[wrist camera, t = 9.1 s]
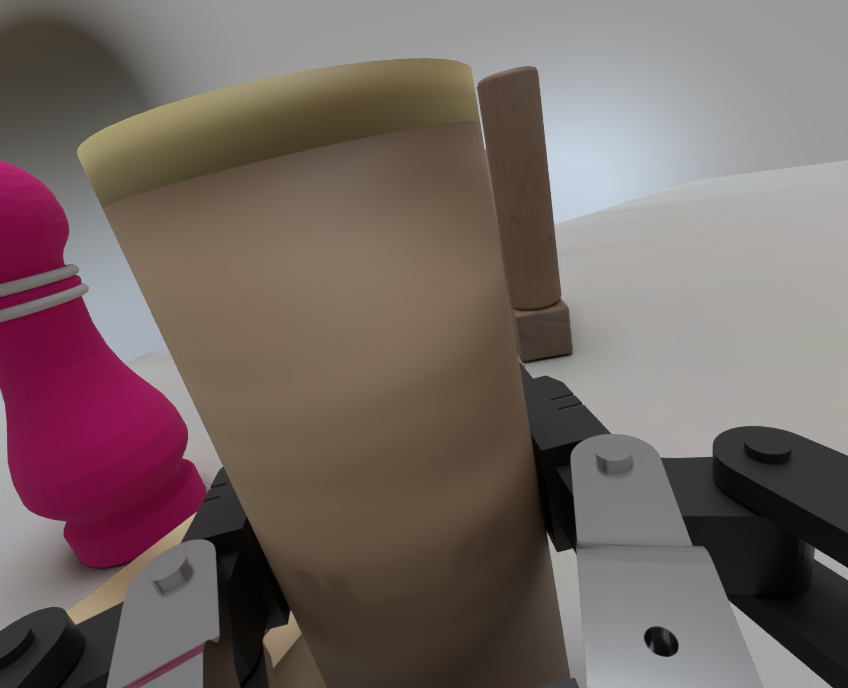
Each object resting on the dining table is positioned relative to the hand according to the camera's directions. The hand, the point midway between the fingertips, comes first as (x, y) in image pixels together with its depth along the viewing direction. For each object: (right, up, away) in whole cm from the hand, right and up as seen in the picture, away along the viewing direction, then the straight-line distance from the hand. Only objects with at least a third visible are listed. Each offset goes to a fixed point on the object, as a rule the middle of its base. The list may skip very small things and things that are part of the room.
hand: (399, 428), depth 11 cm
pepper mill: (-14, -8, +13) cm, 21 cm away
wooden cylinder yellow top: (+1, -8, +1) cm, 8 cm away
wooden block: (+9, +3, +25) cm, 27 cm away
